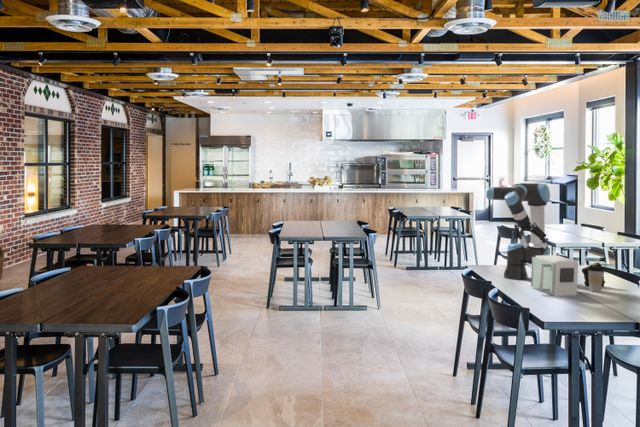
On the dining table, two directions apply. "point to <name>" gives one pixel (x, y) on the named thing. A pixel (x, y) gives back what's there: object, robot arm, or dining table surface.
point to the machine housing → (563, 274)
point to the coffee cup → (595, 278)
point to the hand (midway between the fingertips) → (535, 247)
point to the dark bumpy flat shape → (588, 273)
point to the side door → (543, 275)
